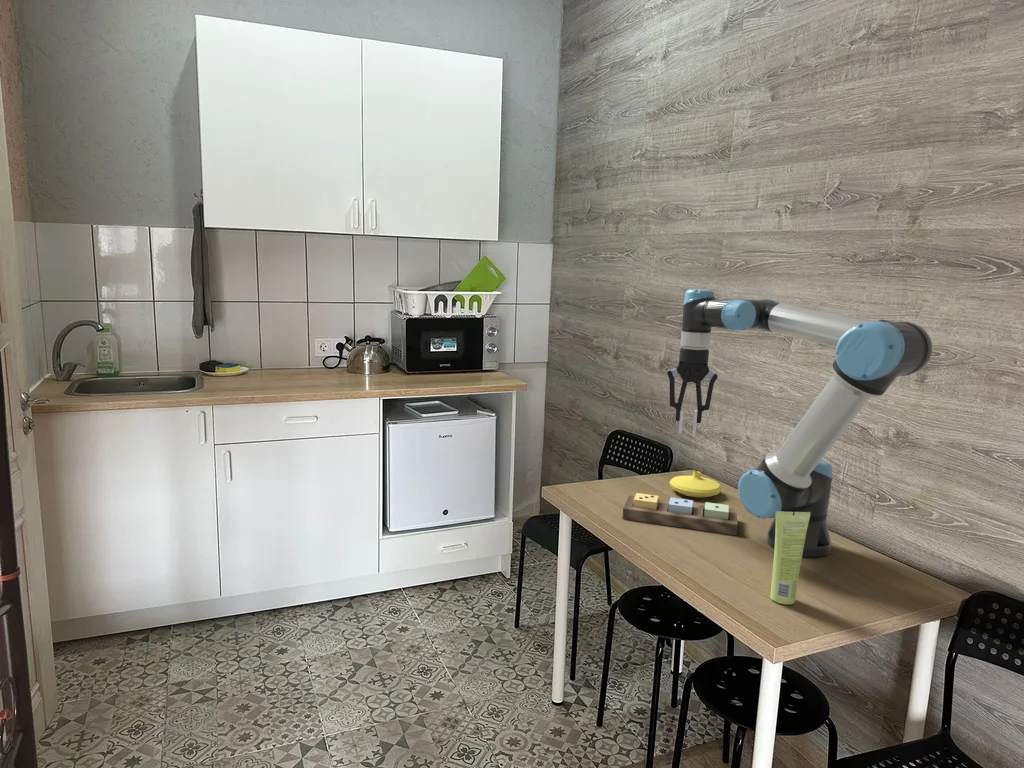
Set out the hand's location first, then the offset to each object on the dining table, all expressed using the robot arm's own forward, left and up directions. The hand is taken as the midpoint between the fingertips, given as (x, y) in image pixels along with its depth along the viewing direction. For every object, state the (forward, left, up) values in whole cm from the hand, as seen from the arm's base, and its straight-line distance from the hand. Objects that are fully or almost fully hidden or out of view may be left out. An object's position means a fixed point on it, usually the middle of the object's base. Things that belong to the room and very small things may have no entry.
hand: (687, 433), depth 187 cm
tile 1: (-9, 0, -23) cm, 24 cm away
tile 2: (0, 0, -23) cm, 23 cm away
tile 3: (+10, 0, -23) cm, 24 cm away
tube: (-24, +41, -25) cm, 54 cm away
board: (0, 0, -25) cm, 25 cm away
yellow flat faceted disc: (-3, -26, -25) cm, 36 cm away
